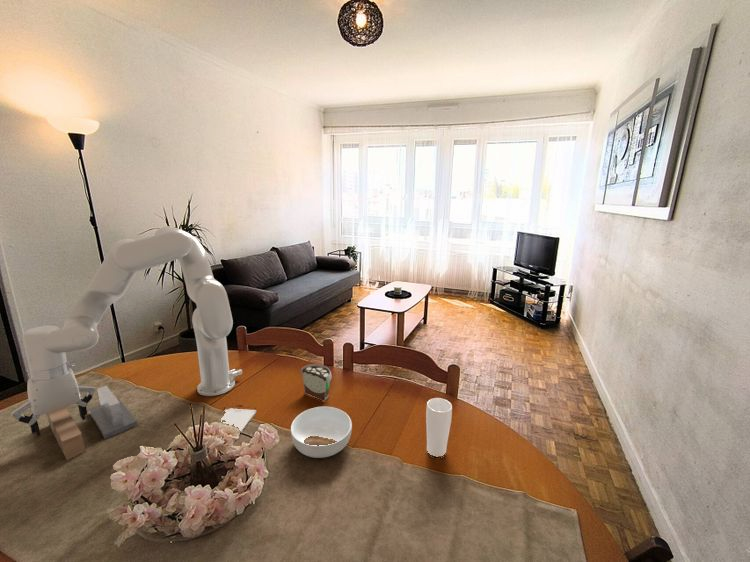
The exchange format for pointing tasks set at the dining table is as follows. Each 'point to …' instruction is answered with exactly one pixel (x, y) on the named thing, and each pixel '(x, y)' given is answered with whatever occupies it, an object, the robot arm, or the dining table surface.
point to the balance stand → (111, 414)
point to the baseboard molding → (238, 417)
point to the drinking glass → (438, 425)
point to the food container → (316, 380)
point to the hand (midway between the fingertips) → (61, 425)
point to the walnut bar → (66, 432)
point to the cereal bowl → (321, 430)
